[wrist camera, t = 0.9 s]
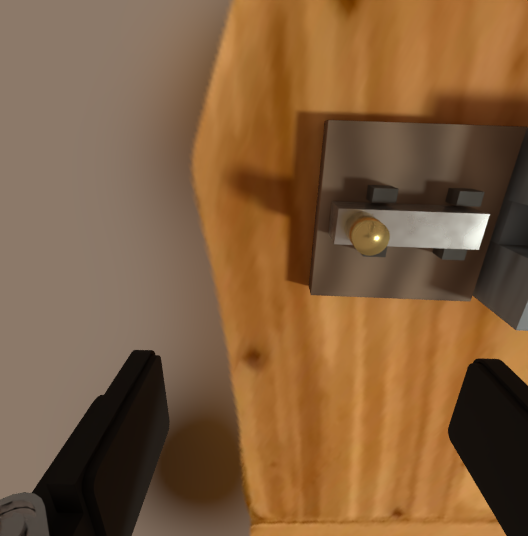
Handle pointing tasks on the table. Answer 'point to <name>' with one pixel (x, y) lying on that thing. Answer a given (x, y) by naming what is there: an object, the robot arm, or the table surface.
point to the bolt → (405, 226)
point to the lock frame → (428, 193)
